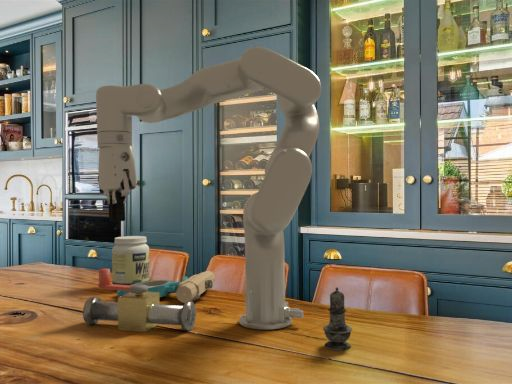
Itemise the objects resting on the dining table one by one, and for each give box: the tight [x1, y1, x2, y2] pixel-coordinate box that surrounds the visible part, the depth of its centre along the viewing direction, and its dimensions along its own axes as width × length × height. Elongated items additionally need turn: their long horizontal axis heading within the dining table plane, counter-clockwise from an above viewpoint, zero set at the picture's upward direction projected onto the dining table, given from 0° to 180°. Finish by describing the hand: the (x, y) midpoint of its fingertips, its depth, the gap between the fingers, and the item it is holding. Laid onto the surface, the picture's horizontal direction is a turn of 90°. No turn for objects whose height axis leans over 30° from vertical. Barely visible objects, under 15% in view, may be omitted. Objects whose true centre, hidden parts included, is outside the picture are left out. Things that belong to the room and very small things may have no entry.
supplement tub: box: [111, 235, 151, 285], centre depth 153 cm, size 12×12×17 cm
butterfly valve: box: [116, 270, 216, 304], centre depth 138 cm, size 27×7×30 cm
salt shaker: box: [322, 287, 353, 351], centre depth 93 cm, size 6×6×12 cm
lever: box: [97, 268, 148, 293], centre depth 110 cm, size 13×4×5 cm, turn 69°
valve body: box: [82, 292, 197, 333], centre depth 108 cm, size 26×7×8 cm, turn 76°
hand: (117, 221), depth 105 cm, fingers closed
